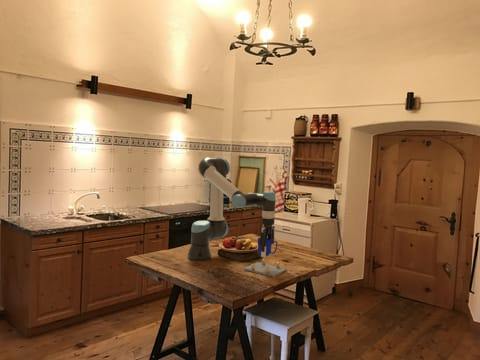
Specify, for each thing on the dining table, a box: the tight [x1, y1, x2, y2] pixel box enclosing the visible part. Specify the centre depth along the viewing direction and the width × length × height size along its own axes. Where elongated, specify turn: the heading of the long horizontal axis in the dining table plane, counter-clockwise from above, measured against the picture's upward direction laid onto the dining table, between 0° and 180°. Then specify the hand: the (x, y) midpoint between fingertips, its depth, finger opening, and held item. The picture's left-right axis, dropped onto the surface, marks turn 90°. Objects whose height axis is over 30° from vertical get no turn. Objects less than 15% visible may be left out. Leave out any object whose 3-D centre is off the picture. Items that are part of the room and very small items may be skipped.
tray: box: [243, 258, 287, 278], centre depth 241 cm, size 20×16×4 cm
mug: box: [257, 237, 278, 257], centre depth 240 cm, size 8×12×10 cm
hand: (266, 255), depth 240 cm, fingers closed on mug, 7 cm apart
